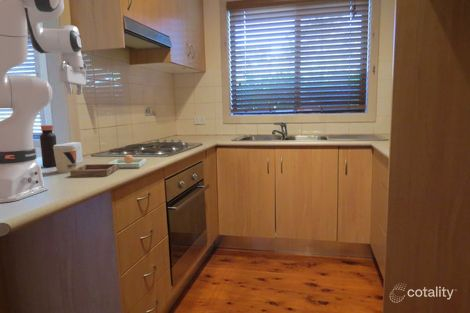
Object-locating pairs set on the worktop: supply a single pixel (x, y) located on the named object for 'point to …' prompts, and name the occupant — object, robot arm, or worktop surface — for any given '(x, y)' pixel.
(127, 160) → the ball
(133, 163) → the tray
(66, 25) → the robot arm
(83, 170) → the brown wooden tray
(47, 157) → the bottle
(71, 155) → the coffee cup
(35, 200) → the worktop surface
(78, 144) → the small box
